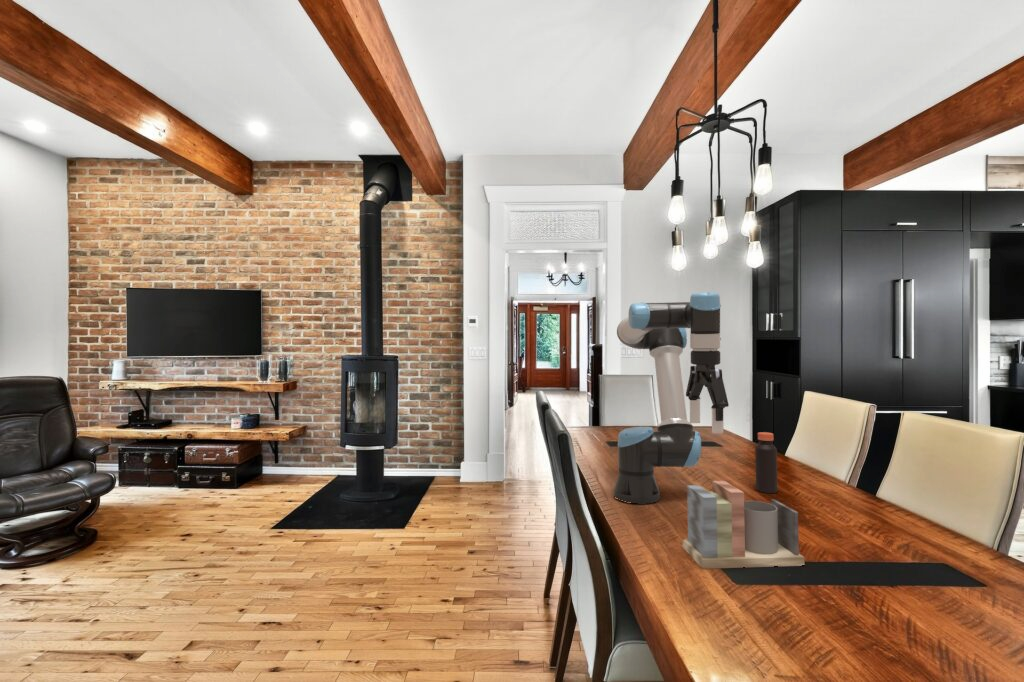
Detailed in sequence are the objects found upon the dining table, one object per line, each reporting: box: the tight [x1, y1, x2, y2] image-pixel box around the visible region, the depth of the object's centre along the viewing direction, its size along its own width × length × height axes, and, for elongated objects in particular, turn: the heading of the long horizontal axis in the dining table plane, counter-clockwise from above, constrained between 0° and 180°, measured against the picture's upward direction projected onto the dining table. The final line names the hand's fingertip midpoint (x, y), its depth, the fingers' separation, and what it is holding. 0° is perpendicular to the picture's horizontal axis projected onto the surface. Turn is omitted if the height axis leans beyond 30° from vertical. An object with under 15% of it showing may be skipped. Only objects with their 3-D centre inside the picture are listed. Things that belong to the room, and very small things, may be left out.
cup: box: [744, 500, 778, 555], centre depth 120 cm, size 8×8×10 cm
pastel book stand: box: [682, 480, 805, 570], centre depth 120 cm, size 12×24×17 cm, turn 92°
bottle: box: [754, 431, 778, 494], centre depth 172 cm, size 7×7×20 cm
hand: (705, 427), depth 134 cm, fingers open, 13 cm apart
